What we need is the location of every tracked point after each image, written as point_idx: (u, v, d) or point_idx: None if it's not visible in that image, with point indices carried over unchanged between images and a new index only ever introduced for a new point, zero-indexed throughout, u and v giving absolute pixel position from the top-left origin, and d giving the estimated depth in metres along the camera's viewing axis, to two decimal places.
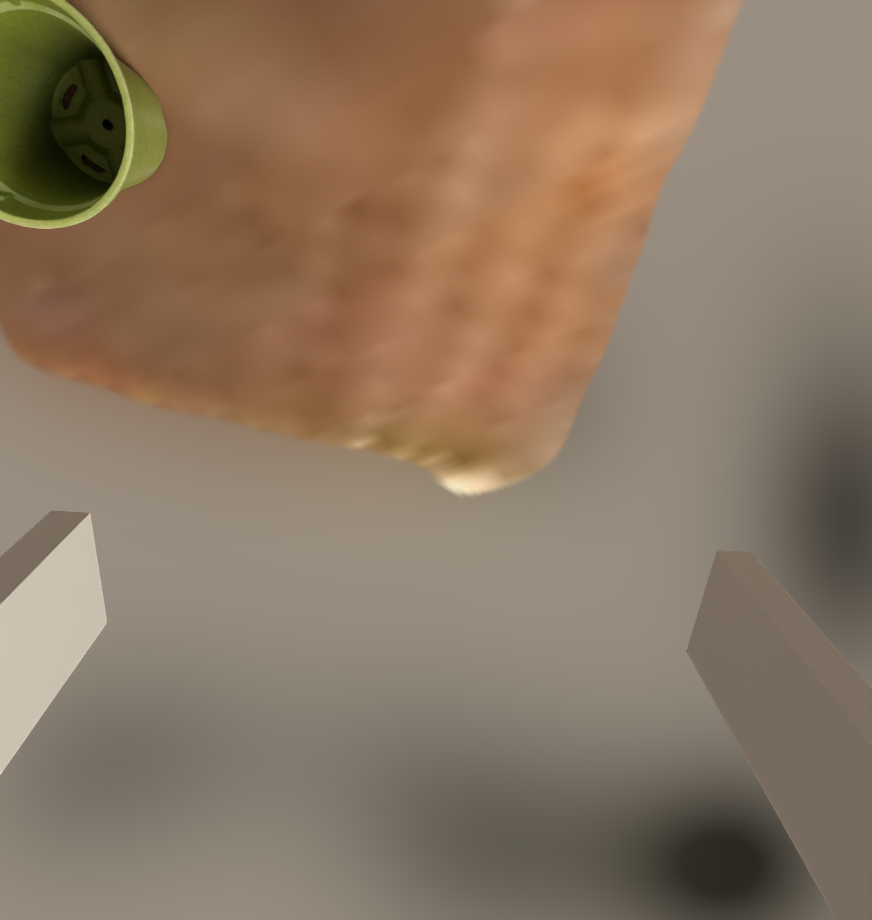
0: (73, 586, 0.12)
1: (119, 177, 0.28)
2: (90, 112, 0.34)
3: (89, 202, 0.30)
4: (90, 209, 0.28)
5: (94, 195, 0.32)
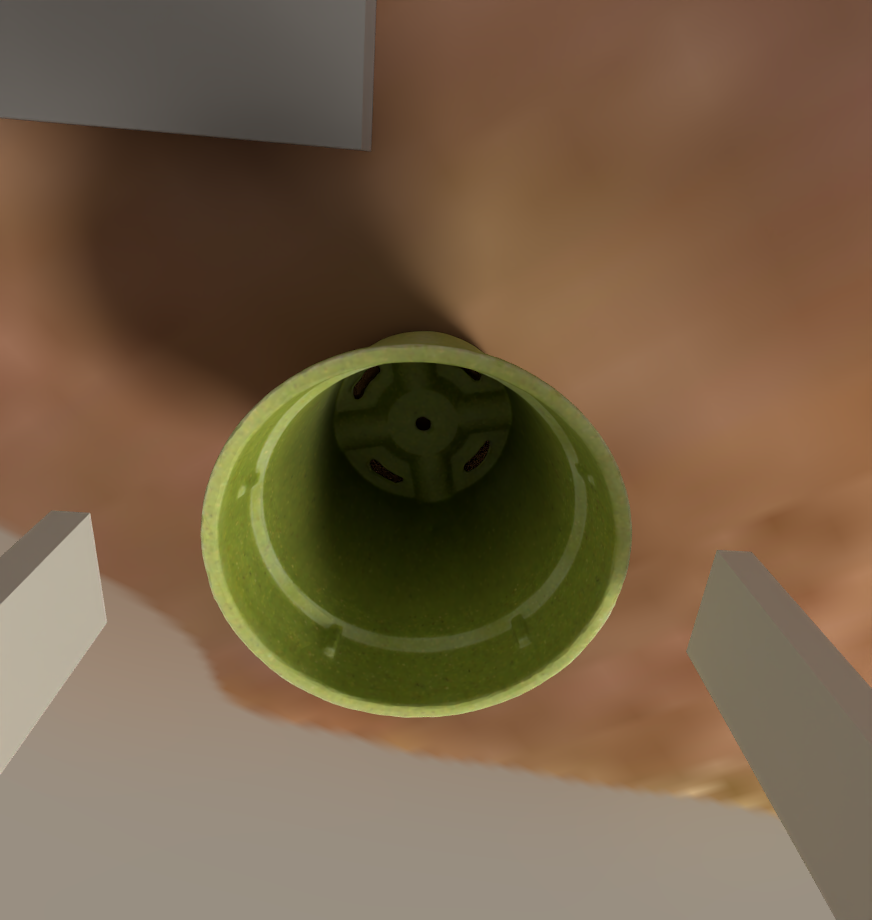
0: (73, 586, 0.12)
1: (573, 651, 0.15)
2: (397, 406, 0.21)
3: (466, 634, 0.17)
4: (505, 692, 0.16)
5: (428, 567, 0.20)
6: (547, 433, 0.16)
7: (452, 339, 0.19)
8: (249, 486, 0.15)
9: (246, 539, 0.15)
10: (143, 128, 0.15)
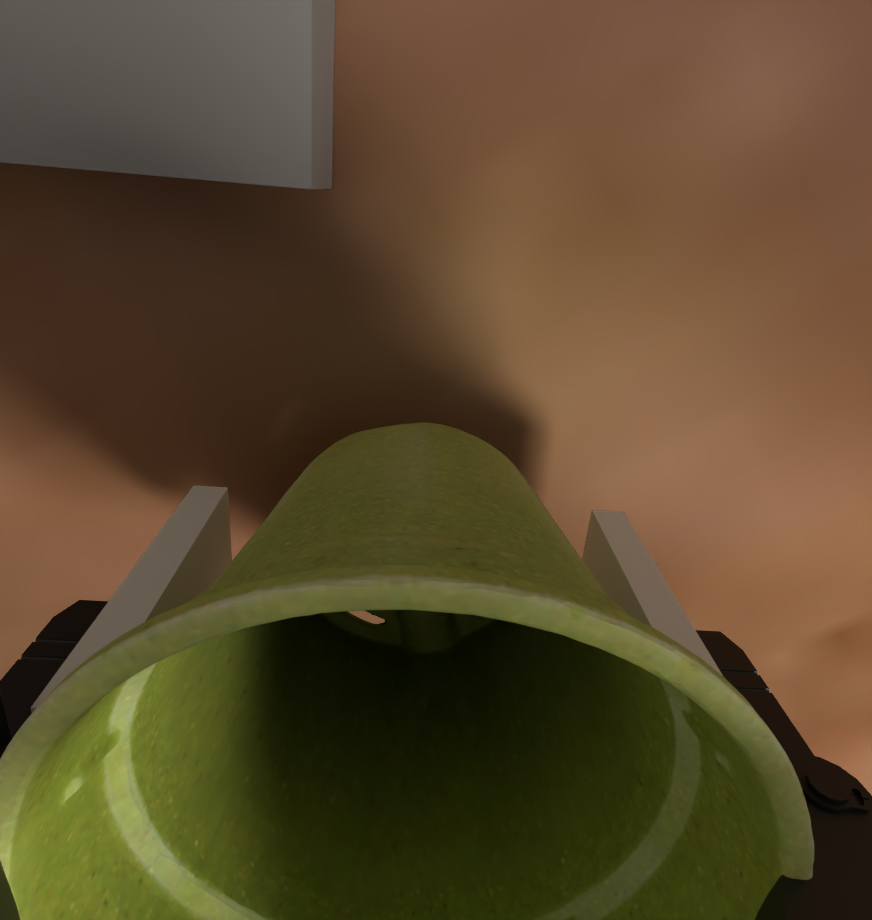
0: (217, 552, 0.14)
1: None
2: None
3: None
4: None
5: (422, 783, 0.13)
6: None
7: (456, 442, 0.13)
8: (93, 768, 0.08)
9: (96, 845, 0.09)
10: None
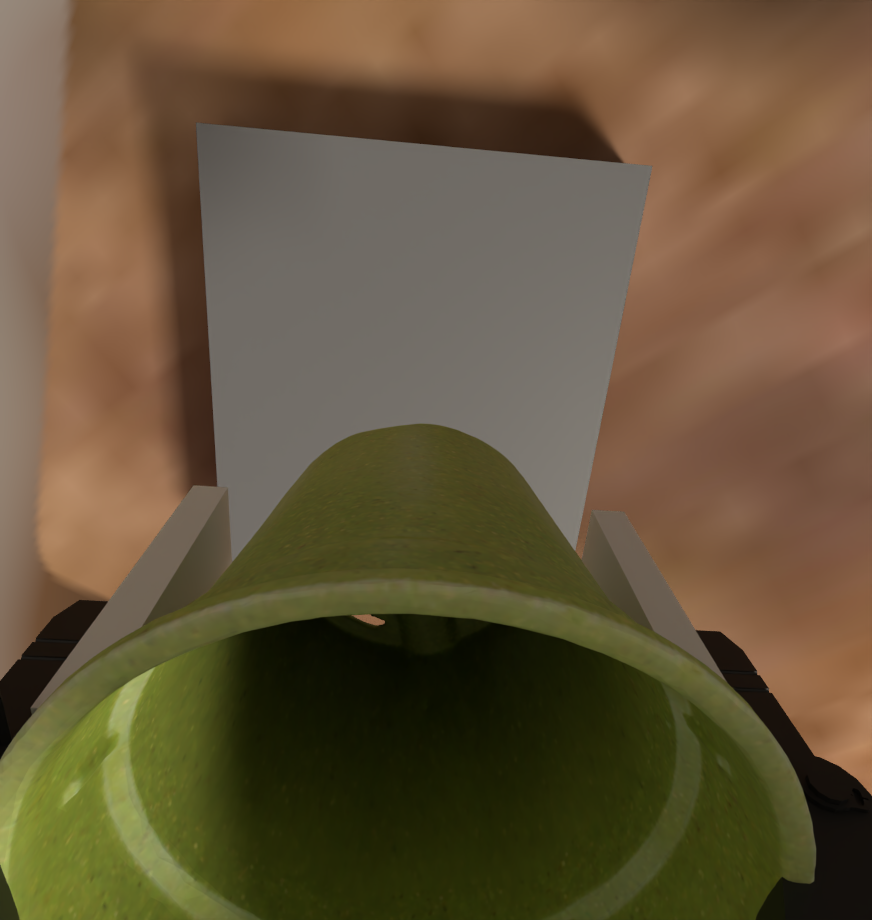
0: (217, 552, 0.14)
1: None
2: None
3: None
4: None
5: (422, 786, 0.13)
6: None
7: (456, 443, 0.13)
8: (92, 771, 0.08)
9: (95, 849, 0.09)
10: None
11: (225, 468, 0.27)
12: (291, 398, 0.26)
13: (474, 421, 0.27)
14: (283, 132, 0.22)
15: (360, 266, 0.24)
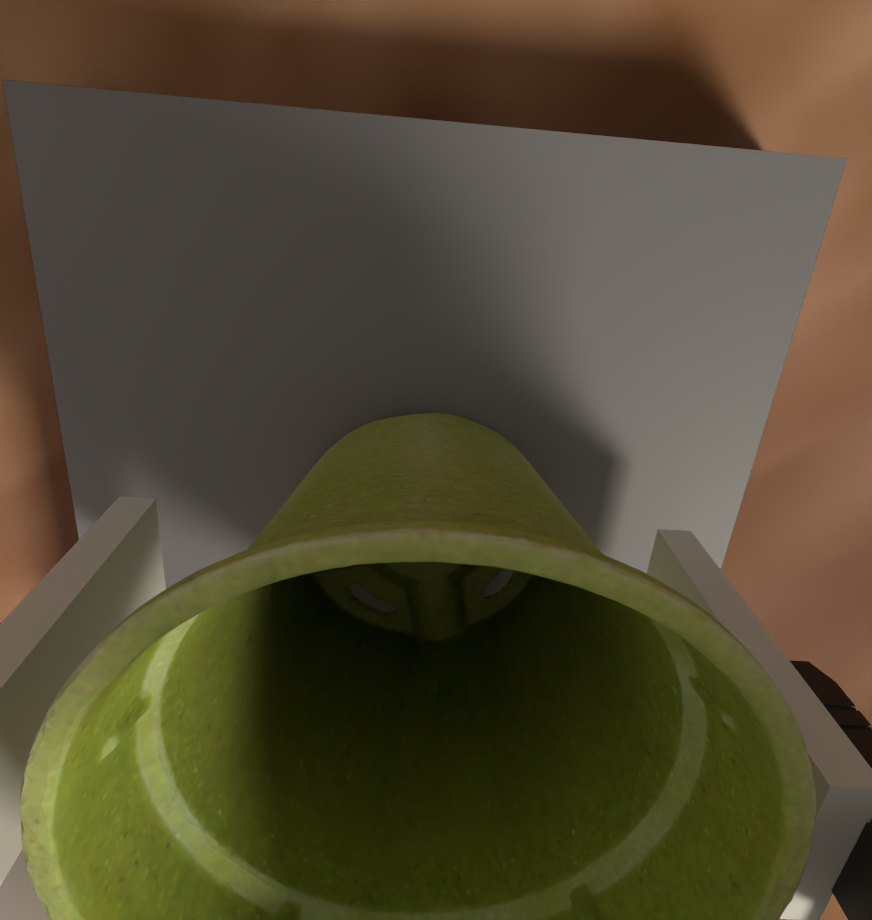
0: (142, 567, 0.13)
1: None
2: None
3: (497, 909, 0.11)
4: None
5: (435, 763, 0.13)
6: None
7: (467, 430, 0.13)
8: (127, 729, 0.08)
9: (128, 807, 0.09)
10: None
11: None
12: (211, 546, 0.16)
13: None
14: (168, 98, 0.12)
15: (320, 336, 0.14)
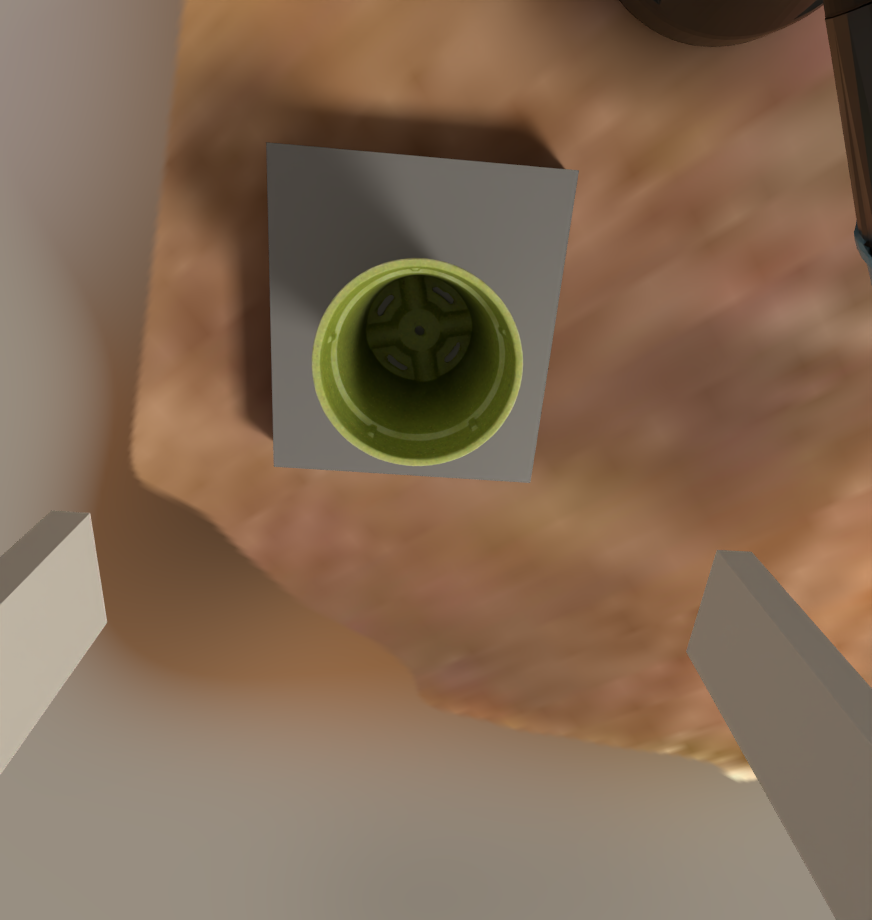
0: (73, 586, 0.12)
1: (498, 423, 0.29)
2: (404, 319, 0.36)
3: (444, 431, 0.32)
4: (464, 449, 0.30)
5: (423, 408, 0.34)
6: (485, 318, 0.31)
7: None
8: (332, 338, 0.29)
9: (329, 369, 0.30)
10: (447, 476, 0.40)
11: (278, 390, 0.38)
12: None
13: None
14: (325, 148, 0.32)
15: (377, 241, 0.34)
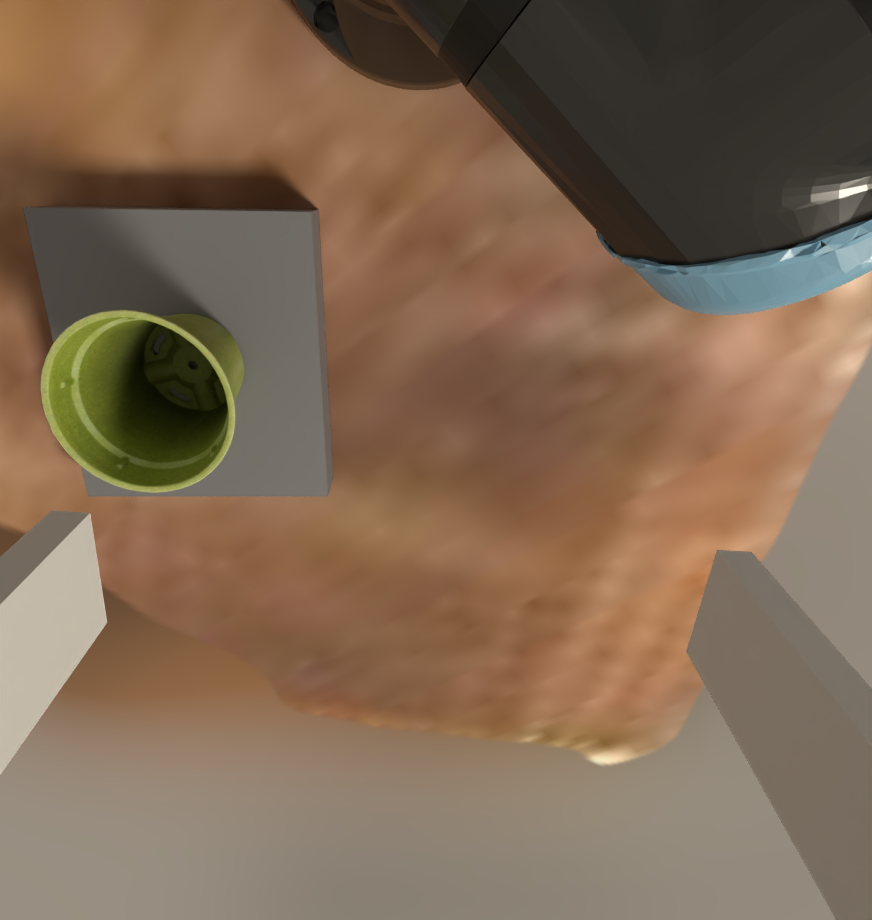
0: (73, 586, 0.12)
1: (223, 450, 0.33)
2: (177, 356, 0.39)
3: (192, 458, 0.35)
4: (198, 475, 0.33)
5: (189, 437, 0.37)
6: (217, 354, 0.34)
7: (191, 316, 0.37)
8: (67, 383, 0.32)
9: (70, 410, 0.33)
10: (250, 495, 0.43)
11: None
12: None
13: None
14: (77, 209, 0.36)
15: (141, 287, 0.38)
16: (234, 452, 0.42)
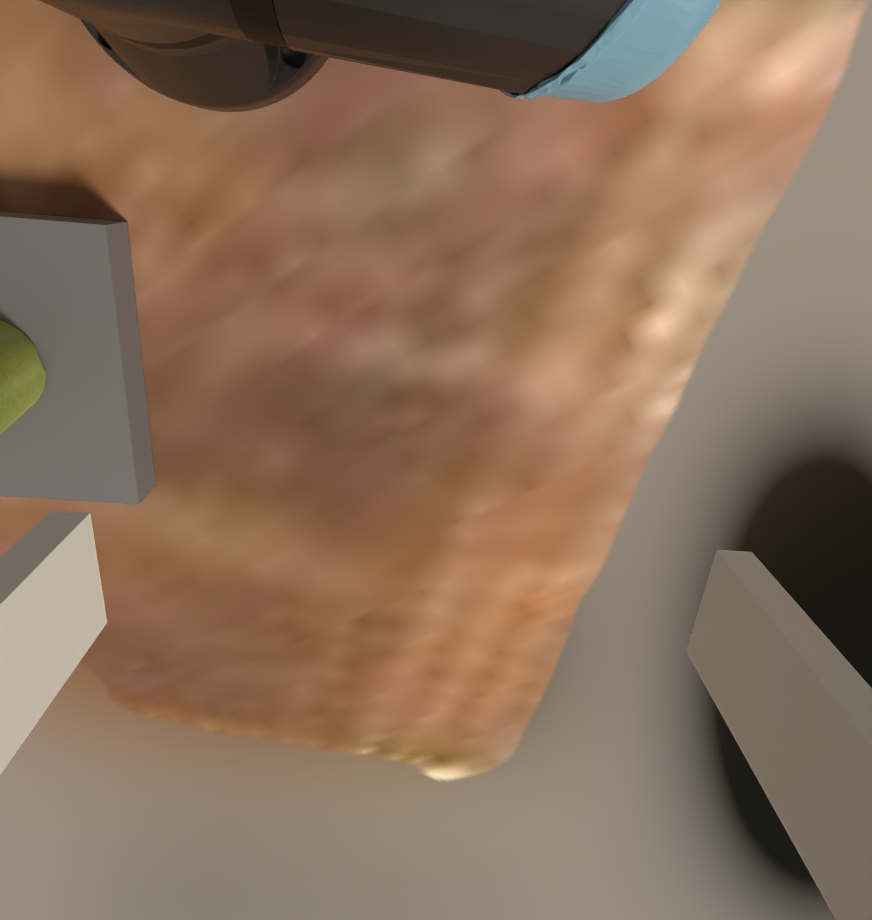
0: (73, 586, 0.12)
1: None
2: None
3: None
4: None
5: None
6: None
7: None
8: None
9: None
10: (60, 499, 0.43)
11: None
12: None
13: None
14: None
15: None
16: (41, 456, 0.42)
